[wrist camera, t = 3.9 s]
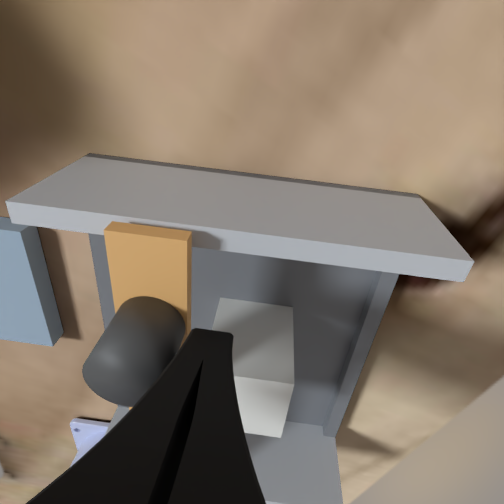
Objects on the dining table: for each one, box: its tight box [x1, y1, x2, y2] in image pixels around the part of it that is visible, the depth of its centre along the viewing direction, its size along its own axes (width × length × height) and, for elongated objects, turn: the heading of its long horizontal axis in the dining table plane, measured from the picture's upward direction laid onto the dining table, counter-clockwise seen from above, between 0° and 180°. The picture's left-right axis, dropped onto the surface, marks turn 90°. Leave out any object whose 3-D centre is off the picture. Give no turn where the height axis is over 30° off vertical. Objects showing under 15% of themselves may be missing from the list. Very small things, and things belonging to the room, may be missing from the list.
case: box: [5, 153, 474, 504], centre depth 18 cm, size 18×15×6 cm
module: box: [212, 297, 294, 438], centre depth 18 cm, size 4×4×5 cm
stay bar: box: [82, 221, 192, 411], centre depth 14 cm, size 18×2×3 cm, turn 174°
